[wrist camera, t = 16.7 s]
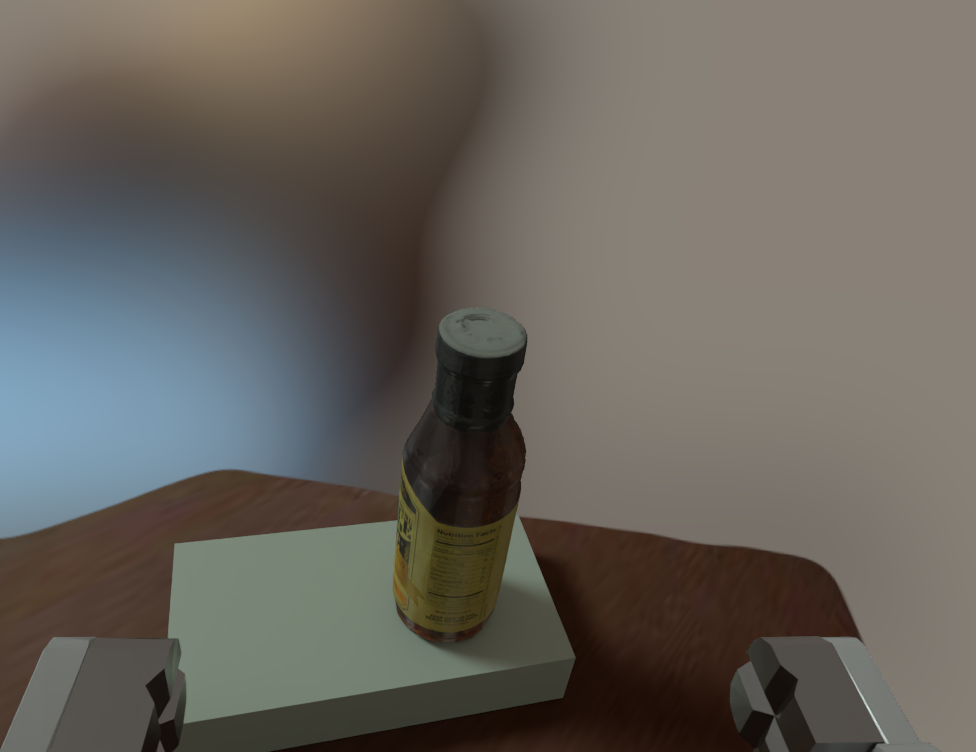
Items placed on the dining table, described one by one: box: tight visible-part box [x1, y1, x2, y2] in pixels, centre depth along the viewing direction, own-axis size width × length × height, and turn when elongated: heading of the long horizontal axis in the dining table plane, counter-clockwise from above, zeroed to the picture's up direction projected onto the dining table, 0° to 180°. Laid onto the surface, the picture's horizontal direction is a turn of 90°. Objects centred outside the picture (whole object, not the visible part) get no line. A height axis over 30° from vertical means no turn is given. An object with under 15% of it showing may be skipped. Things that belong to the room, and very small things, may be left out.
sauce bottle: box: [393, 308, 527, 643], centre depth 40 cm, size 7×6×20 cm
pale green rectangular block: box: [168, 511, 576, 752], centre depth 46 cm, size 22×12×4 cm, turn 105°
